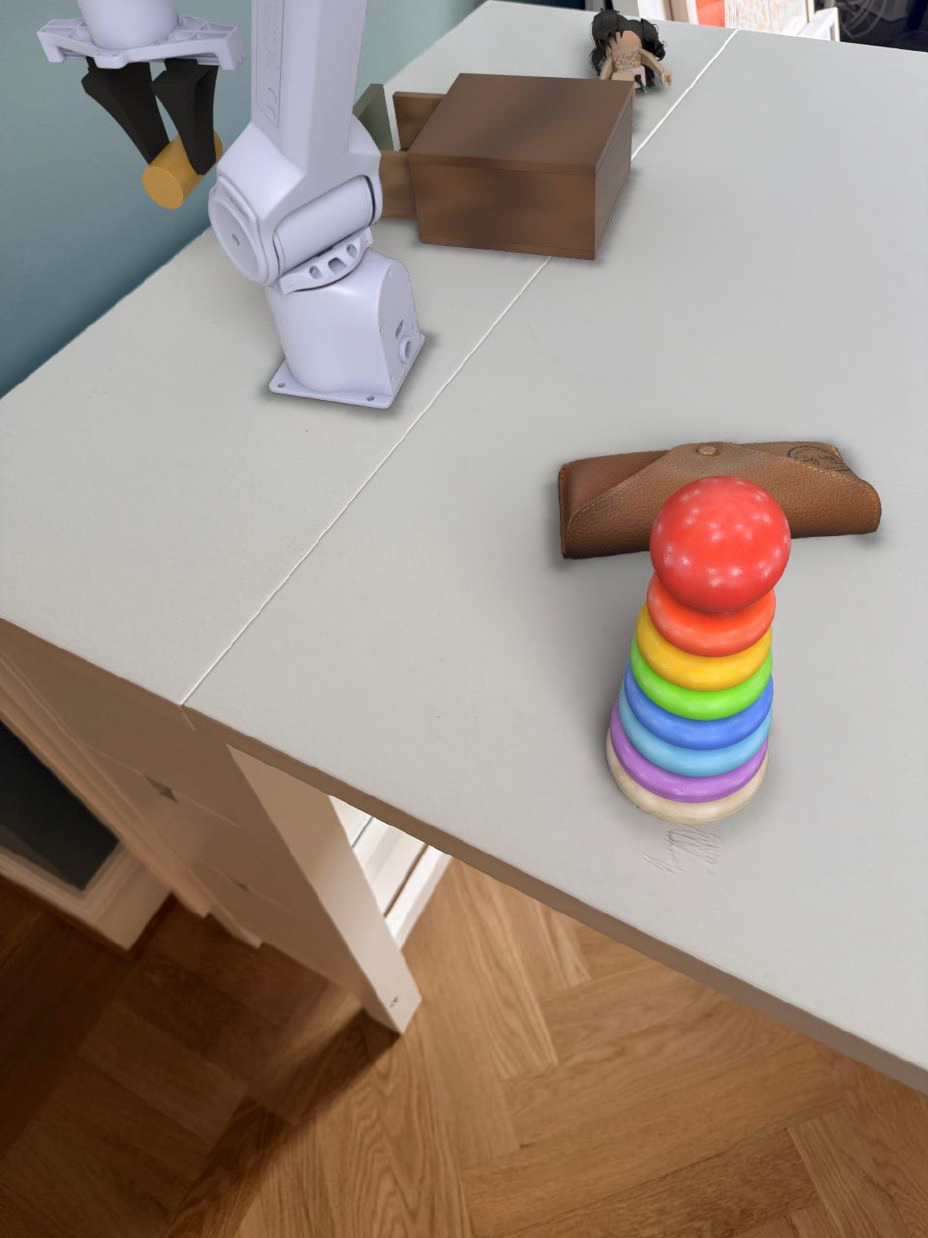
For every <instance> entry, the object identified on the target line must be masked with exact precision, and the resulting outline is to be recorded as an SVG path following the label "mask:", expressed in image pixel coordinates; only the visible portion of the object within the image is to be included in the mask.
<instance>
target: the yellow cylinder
mask: <svg viewBox="0 0 928 1238" xmlns="http://www.w3.org/2000/svg"><path fill="white" fill-rule="evenodd" d="M169 141H170V142H169V143H168V145H167V146H166V147H165V148H164V149H163V150H162V151H161V152H160V153H159V154H158V155H157V157H156V158H155V159H154V160H153V161H152V162H151V163H150V164H149V165H148V164H147V166H146V167H145V168H144V170H143V171H142V174H141V183H142V186H143V188H144V190H145V192H146V194H147V195H148V197H149V198H150V199H151V200H152V201H153V202H155V203H156V204H157V205H159V207H162V208H165V209H168V210H176V209H178V208H180V207H181V206H182V205H183V204H184V203H185V202H186V201H187V200H188V198H189V197H190V196H191V194H193V192H194V191H195V190H196V189H197V188H198V187H199V185H200V184H201V182H203V180H204V179H205V178H206V177H207V175H209V173H210V172H212V169H214V167H215V166H217V164H218V162H219V160H220V159H221V158H222V156H223V155H224V147H223V145H224V144H223V142H222V139H221V138H220V136H219V135H218V133H217V131H216V130H214V142H215V151H216V160H217V162H216V163H215V164H214V165H213V166H212V167H211V169H210V170H209V171H208V172H207V173H206V174H205V175H197V174H196V172H195V171H194V169H193V168H192V166H191V164H190V162H189V160H188V157H187V154H186V152H185V149H184V146H183V144H182V141H181V138H180V136H179V133H178V132H177V134H176V135H175V136H173V138H172V139H171V140H169Z"/></svg>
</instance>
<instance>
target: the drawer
mask: <svg viewBox="0 0 928 1238" xmlns="http://www.w3.org/2000/svg"><path fill="white" fill-rule="evenodd" d="M445 95H446V93H436V92H420V91H419V92H418V91H417V92H416V91H415V92H414V91H401V90H400V91H398V90H396V91H394V92H393V94H392V96H391V97H392V104H393V108H394V116H395V122H396V127H397V128H396V129H397V136H398V141H399V150H395V147H394V141H393V135H392V134H393V133H392V130H391V124H390V116H389V112H388V105H387V99H386V93H385V86H384V83H372V82H371V83H370V84H369V85H368V86H367V88H366V89H365V90H364V91H363V93H362V94H361V95H360V97H359V98H358V100H357V101H356V102H355V103H354V104H353V111H352V114H353V115H354V116H355V117H356V118H357V119H358V120H359V121H360V122H361V123H362V125H363V126H364V127H365V129H366V130H367V131H368V133H369V134H370V136H371V137H372V139H373V141H374V142H375V144H376V146H377V147H378V149H379V151H380V153H381V159H380V164H379V177H380V181H381V185H382V192H383V206H382V213H381V217H382V218H392V219H402V220H413V221H418V219H417V212H416V206H415V200H414V193H413V187H412V181H411V174H410V168H409V161H408V155H407V152H408V150H409V149H410V147H411V146H412V144H413V143H414V141H415V140H416V138H417V137H418V135H419V134H420V132H421V131H422V129H423V128H424V126H425V125H426V123H427V122H428V120H429V119H430V117H431V116H432V114H433V113H434V111H435V110H436V108H437V107H438V105H439V104H440V102H441V101H442V99H443V98H444V96H445ZM381 217H380V218H381Z"/></svg>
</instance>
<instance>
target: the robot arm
mask: <svg viewBox="0 0 928 1238" xmlns="http://www.w3.org/2000/svg"><path fill="white" fill-rule="evenodd" d="M76 3H77V5H78V8H79V10H80V14H81V16H82V17H77V18H76V17H75V18H65V19H64V18H63V19H51V20H49V21H48V22H47V23H46V24H44V26H42V27H41V28H40V29H38V31H36V36H37V38H38V40H39V42H40V44H41V47H42V50H43V52H44V53H45V57H46V58H47V60H48V63H50V64H51V63H52V64H61V63H64V62H65V61H66V60H68V59H69V60H70V59H71V60H86V63H87V66H88V67H87V71H88V72H87V73H86V74H85V75H84V76H83V77H82V78H81V80H80V83H81V86H82V89H83V91H84V93H85V94H87V96H90V98H92V99H93V100H94V101H95V102H96V103H97V104H98V105H100V106H101V107H102V108H103V109H104V110H105V111H106V112H107V113H108V114H109V115H110V116H111V117H112V118H113V119H114V120H115V122H116V123H117V124H118V125H119V126H120V128H121V129H122V130H123V131H124V133H125V134H126V135H127V137H128V138H129V140H131V141H132V143H133V145H134V146H135V147H136V149H137V150H138V152H139V154H141V156H142V158H143V159H144V160H145V162H146V163H147V166H148V165H149V164H150V163H151V162H152V161H153V160H154V159H155V158H156V157H157V155H158V154H159V153H160V152H161V151H162V150H163V149H164V148H165V147H166V146H167V145H168V143H169V142H170V141H171V140H170V138H169V135H168V132H167V130H166V129H167V128H166V126H165V123H164V121H163V117H162V115H161V112H160V108H159V105H158V101H159V102H160V103H161V105H162V106H163V108H164V109H165V111H166V113H167V114H168V116H169V118H170V120H171V121H172V123H173V125H174V127H175V129H176V131H177V134H178V133H179V136H180V138H181V141H182V144H183V146H184V149H185V152H186V154H187V157H188V160H189V162H190V164H191V166H192V168H193V169H194V171H195V172H196V174H197V175H205V174H206V173H207V172H208V171H209V170H210V169H211V167H212V166H213V165H214V164H215V163H216V162H217V160H216V151H215V142H214V131H215V128H214V106H215V105H214V103H215V92H216V86H217V85H216V84H217V79H218V73H219V68H220V70H222V71H223V72H235V71H237V69H238V68H239V67H240V66H241V65H242V64H243V63H244V61H245V60H246V59H247V58H248V53H247V49H246V46H245V43H244V38H243V34H242V32H241V28H240V25H238V24H237V25H235V24H224V23H219V22H216V21H215V22H214V21H210V20H207V19H204V18H199V17H196V16H192V15H189V14H185V13H182V12H178V11H176V8H175V6H174V5H175V4H174V2H173V0H76ZM250 5H251V8H250V9H251V13H250V14H251V21H250V22H251V25H250V26H251V29H250V30H251V31H250V58H251V59H250V120H249V122H248V124H247V125H246V126H245V127H244V129H243V130H242V132H241V133H240V134H239V135H238V136H237V137H236V139H234V141H233V142H232V144H230V146H229V147H228V148H227V150H226V151H225V152H224V153H223V155H222V157H221V159H220V160H219V161H218V162H217V164H216V165H215V166H216V181H215V184H214V185H213V186H212V187H210V190H209V191H208V202H207V203H208V204H207V214H208V218H209V221H210V225H211V228H212V230H213V231H212V232H213V233H214V236H215V237H216V240H217V242H218V244H219V246H220V247H221V250H222V251H223V252H224V254H225V255H226V257H227V258H228V260H229V262H230V263H231V265H233V267H234V268H235V269H236V270H237V271H238V273H240V275H242V276H243V277H244V278H246V279H247V280H249V281H251V282H254V283H255V284H257V285H260V286H262V288H263V291H264V295H265V298H266V301H267V304H268V307H269V310H270V313H271V315H272V320H273V323H274V325H275V329H276V332H277V336H278V338H279V342H280V345H281V348H282V351H283V355H284V357H285V359H284V360H283V362H282V363H281V364H280V366H279V368H278V369H277V371H276V373H275V374H274V376H273V377H272V379H271V380H270V382H269V384H268V388H269V391H270V392H271V393H273V394H274V393H275V394H276V393H277V394H281V395H288V396H295V397H301V398H307V399H315V400H322V401H329V402H334V403H341V404H348V405H354V406H361V407H368V408H374V409H380V410H381V409H382V410H385V409H389V408H390V407H391V406H392V405H393V403H394V401H395V399H396V397H397V395H398V393H399V391H400V389H401V387H402V386H403V384H404V382H405V380H406V378H407V376H408V375H409V372H410V371H411V369H412V366H413V365H414V363H415V361H416V359H417V357H418V355H419V354H420V352H421V351H422V348H423V346H424V344H425V343H426V337H425V335H424V334H423V333H421V332H420V327H419V321H418V315H417V310H416V309H417V308H416V304H415V300H414V292H413V287H412V281H411V276H410V273H409V270H408V268H407V266H406V264H405V263H404V262H403V261H402V260H400V259H397V258H394V257H391V256H388V255H385V254H382V253H380V252H378V251H377V250H375V249H373V248H371V247H370V246H372V245H373V244H374V238H373V233H372V228H371V226H373V225H375V224H377V222H378V221H379V220H380V219H381V213H382V206H383V192H382V185H381V181H380V177H379V164H380V159H381V153H380V151H379V149H378V147H377V146H376V144H375V142H374V141H373V139H372V137H371V136H370V134H369V133H368V131H367V130H366V129H365V127H364V126H363V125H362V123H361V122H360V121H359V120H358V119H357V118H356V117H355V116H354V115H353V114H352V111H353V106H354V105H355V103H354V102H355V97H356V88H357V83H358V82H357V81H358V74H359V70H360V69H359V68H360V61H361V54H362V46H363V40H364V33H365V32H364V31H365V25H366V18H367V13H368V12H367V11H368V5H369V0H251V4H250ZM151 63H157V64H162V63H163V64H164V67H165V70H162V71H161V72H160V73H159V74H158V75H157V76H156V77H155V78H154V79H153V76H152V70H151ZM157 100H158V101H157ZM211 170H212V169H211Z"/></svg>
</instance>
